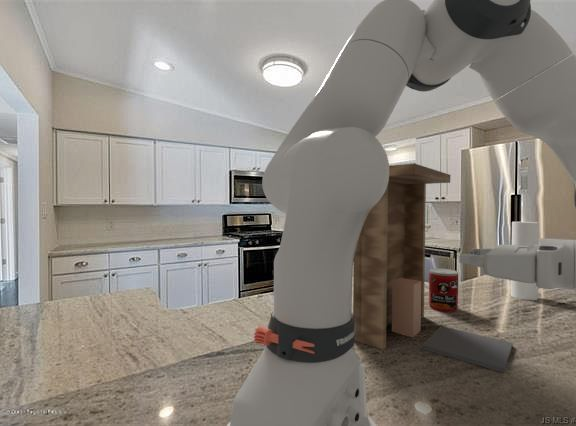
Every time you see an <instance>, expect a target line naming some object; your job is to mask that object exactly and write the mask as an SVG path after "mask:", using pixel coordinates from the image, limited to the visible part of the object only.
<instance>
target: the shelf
mask: <svg viewBox="0 0 576 426" xmlns="http://www.w3.org/2000/svg"><path fill="white" fill-rule="evenodd" d="M389 171H390V173H389V181H388V185H387V188H386V190H385V192H384V194H383V196H382V198H381V199H380V200H379V201H378V202H377V203H376V205H375V206H374V207H373V208H372V209H371V210H370V212H369V213H368V215H367V217H366V219H365V222H364V224H363V227H362V230H361V233H360V236H359V239H358V243H357V247H356V251H355V256H354V261H353V276H352V297H353V298H352V301H353V302H352V314H353V316H354V320H355V327H356V332H355V341H356V342H357V343H361V344H364V345H368V346H371V347H373V348H377V349H379V350H382V351H383V350H385V349H386V348H387V326H388V325H389V324H392V281H395V280H397V279H399V278H404V279H411V280H417V281H421V319H423V318H424V317H425V274H426V273H425V269H426V267H425V266H426V265H425V264H426V263H425V262H426V201H427V200H426V199H427V198H426V195H427V194H426V193H427V188H426V187H427V184H429V185H430V184H431V185H433V184H448V183H449V184H450V183H451V174H449V173H446V172H443V171H440V170H436V169H433V168H429V167H427V166H424V165H420V164H417V163H408V164H407V163H404V164H396V165H395V164H394V165H389Z"/></svg>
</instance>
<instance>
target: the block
mask: <svg viewBox="0 0 576 426" xmlns="http://www.w3.org/2000/svg"><path fill="white" fill-rule="evenodd" d="M421 320H422V318H421V281H417V280H411V279H404V278H399V279H397V280H395V281H392V322H391V332H393V333H396V334H399V335H403V336H405V337H410V338H414V337H415V336H416V335H418V334H419V333H420V332H421V327H422V326H421V324H422V323H421V322H422V321H421Z"/></svg>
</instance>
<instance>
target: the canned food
mask: <svg viewBox="0 0 576 426" xmlns="http://www.w3.org/2000/svg"><path fill="white" fill-rule="evenodd" d="M428 273H429V274H428V280H429V281H428V305H429V307H430V308H431V309H433V310H435V311H438V312H445V313H451V312H456V311H457V310H458V307H459V271H457V270H454V269H449V268H442V267H441V268H439V267H438V268H430V269H429V272H428Z"/></svg>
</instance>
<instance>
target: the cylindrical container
mask: <svg viewBox="0 0 576 426" xmlns="http://www.w3.org/2000/svg"><path fill="white" fill-rule="evenodd" d="M539 240H540V222H538V221H512V222H511V245H521V246H528V245H529V244H533V245H539ZM538 291H539V288H538V287H537V286H536V283H524V282H518V281H512V280H510V296H511V297H512V298H516V299H519V300H526V301H537V300H538V299H539V298H538V297H539V294H538V293H539V292H538Z"/></svg>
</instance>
